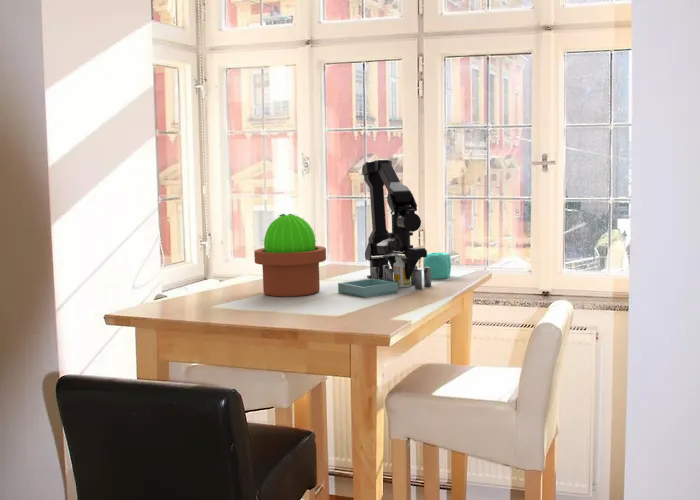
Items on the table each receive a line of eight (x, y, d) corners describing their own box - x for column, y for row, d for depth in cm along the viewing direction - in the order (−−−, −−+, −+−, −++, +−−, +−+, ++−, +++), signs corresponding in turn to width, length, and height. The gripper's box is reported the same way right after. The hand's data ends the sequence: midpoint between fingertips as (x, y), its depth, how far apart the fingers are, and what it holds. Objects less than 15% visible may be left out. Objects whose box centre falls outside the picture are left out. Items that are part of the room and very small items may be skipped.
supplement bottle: (411, 284, 285) (410, 254, 284) (410, 287, 280) (409, 256, 279) (394, 285, 286) (393, 255, 285) (393, 287, 280) (392, 257, 279)
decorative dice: (451, 275, 303) (450, 252, 303) (447, 279, 296) (446, 255, 295) (428, 275, 306) (427, 252, 305) (423, 278, 298) (423, 255, 297)
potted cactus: (317, 298, 264) (314, 214, 261) (247, 298, 268) (243, 215, 265) (333, 287, 285) (331, 209, 282) (268, 287, 289) (265, 210, 287)
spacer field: (367, 285, 286) (366, 267, 285) (400, 281, 294) (400, 263, 293) (402, 291, 271) (402, 272, 271) (436, 286, 279) (436, 267, 279)
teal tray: (338, 292, 273) (338, 283, 273) (372, 288, 281) (371, 278, 281) (363, 297, 263) (363, 287, 263) (397, 292, 270) (397, 282, 270)
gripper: (362, 229, 284) (364, 278, 285) (399, 233, 269) (400, 284, 270) (390, 227, 290) (391, 274, 292) (427, 230, 275) (428, 280, 277)
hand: (402, 278), depth 283 cm, fingers closed on supplement bottle, 5 cm apart
